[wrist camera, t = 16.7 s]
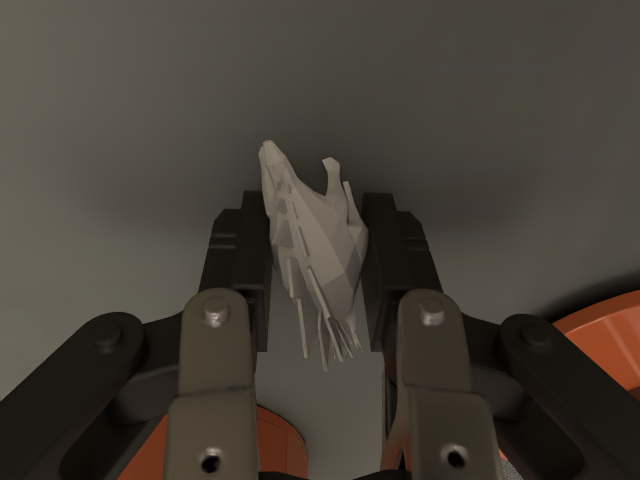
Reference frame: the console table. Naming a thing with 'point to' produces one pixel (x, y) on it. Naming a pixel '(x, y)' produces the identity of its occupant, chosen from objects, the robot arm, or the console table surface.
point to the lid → (609, 338)
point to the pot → (274, 444)
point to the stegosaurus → (315, 250)
